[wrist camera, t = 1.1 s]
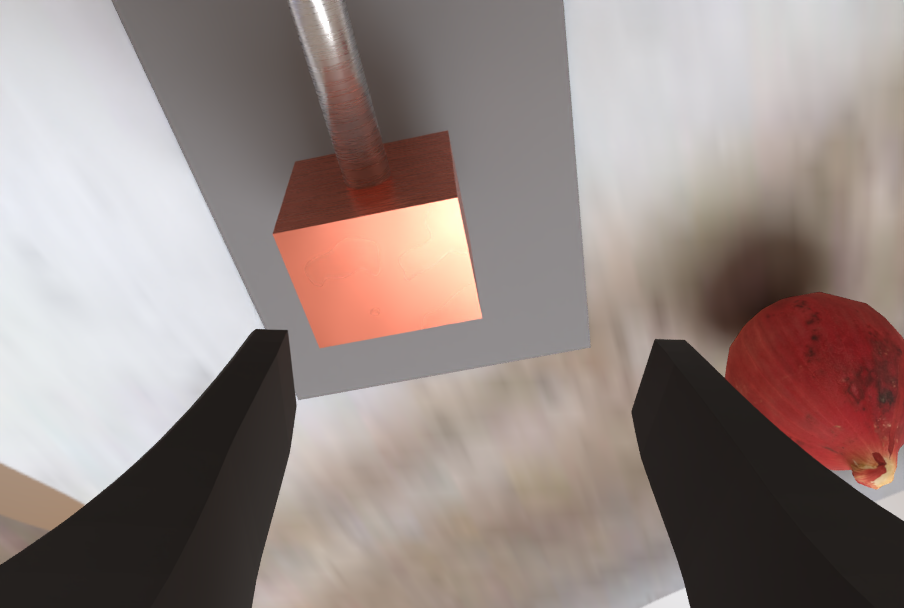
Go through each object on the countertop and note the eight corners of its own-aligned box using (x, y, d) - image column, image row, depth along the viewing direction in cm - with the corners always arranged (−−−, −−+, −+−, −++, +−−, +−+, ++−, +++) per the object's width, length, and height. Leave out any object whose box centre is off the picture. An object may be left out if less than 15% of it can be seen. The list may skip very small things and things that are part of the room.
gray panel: (-40, -331, 14) (-44, -333, 14) (523, -479, 13) (525, -482, 13) (299, 396, 27) (298, 399, 27) (589, 344, 26) (590, 347, 26)
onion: (743, 237, 24) (870, 394, 17) (876, 267, 25) (1041, 425, 18) (670, 356, 27) (753, 525, 20) (790, 378, 28) (904, 544, 22)
